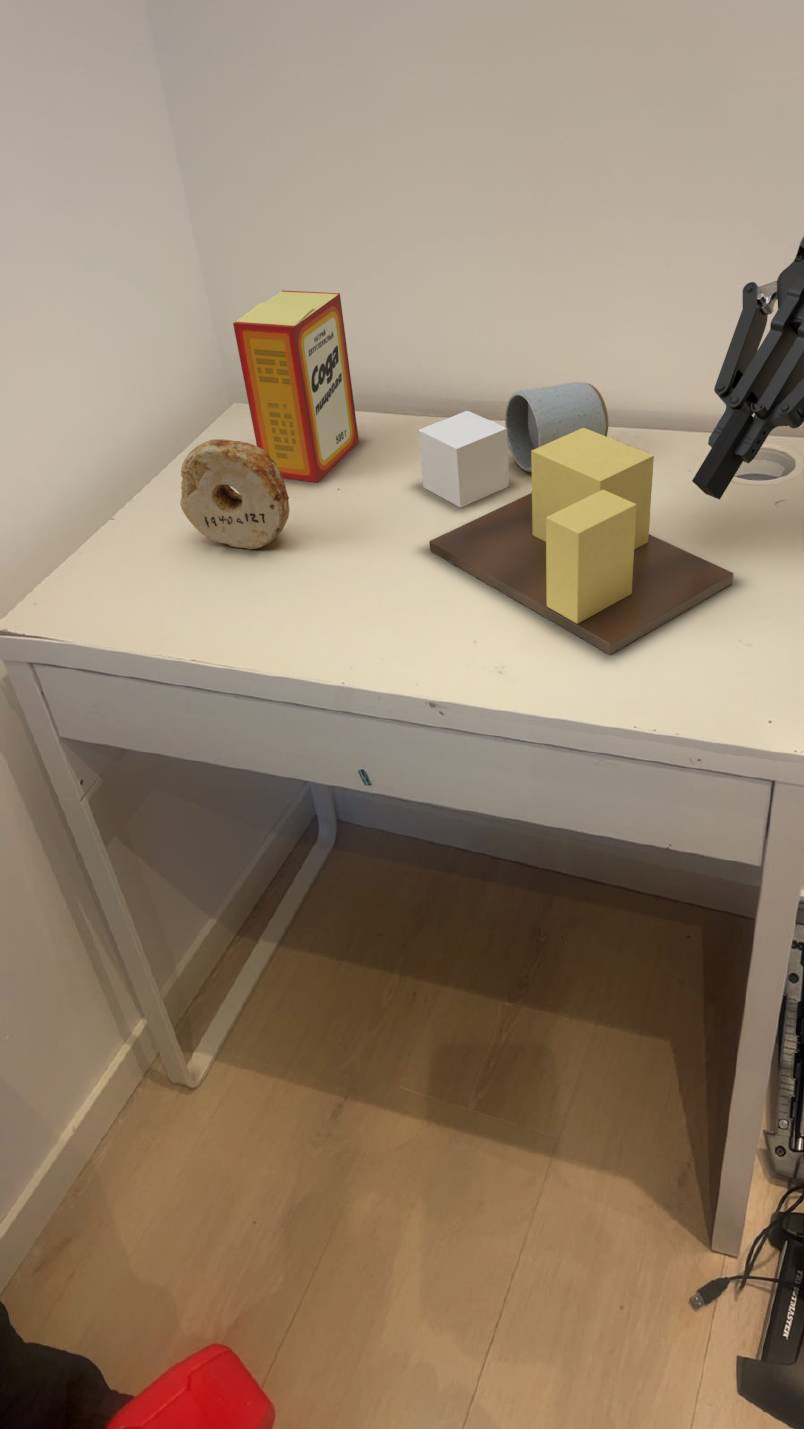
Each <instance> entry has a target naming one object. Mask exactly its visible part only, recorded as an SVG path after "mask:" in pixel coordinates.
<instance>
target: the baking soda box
mask: <svg viewBox="0 0 804 1429" xmlns="http://www.w3.org/2000/svg"><path fill="white" fill-rule="evenodd" d="M232 326H233V330H234V336H235V341H236V346H237V351H238V356H239V361H240V367H241V372H242V377H243V383H244V387H245V392H246V398H247V403H248V408H249V413H250V418H251V424H252V427H253V434H254V439H255V443H256V446H257V447H259V448H261V449H263V450H264V451H265V452H266V453H268V455H269V456H270V458H271V459H272V460H273V461H274V462H275V463H276V466H277V469H278V470H280V471H281V474H282V476H283V479H287V480H294V481H303V482H310V483H319V482H320V481H321V480H322V479H323V478H324V477H325V476H326V475H327V474H328V473H330V471H331V470H332V469H334V468H335V466H336V465H338V463H340V461H342V460H343V459H344V458H345V457H346V456H347V455H348V454H349V453H350V452H351V451H352V450H353V449H354V448H356V446H357V445H358V444H359V443H360V441H359V440H360V439H359V431H358V425H357V424H358V423H357V417H356V409H355V399H354V393H353V384H352V377H351V369H350V362H349V354H348V345H347V338H346V329H345V322H344V315H343V307H342V300H341V293H340V292H321V291H319V292H318V291H303V290H302V291H300V290H284V289H283V290H281V291H279V292H278V293H277V294H275V295H274V296H272V297H270V298H269V299H267V300H266V301H264V302H260V303H258V304H257V305H256V306H254V307H253V308H252V309H250V310H249V311H248V312H246V313H244V315H243V316H241V317H240V318H238V319H237V320H235V321H234V322H233V323H232Z"/></svg>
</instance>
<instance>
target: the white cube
mask: <svg viewBox="0 0 804 1429" xmlns="http://www.w3.org/2000/svg"><path fill="white" fill-rule="evenodd" d="M417 434H418V435H417V436H418V444H419V456H420V467H421V468H420V469H421V478H422V487H423V489H425V490H427V491H429V492H431V493H433V494H435V495H436V496H438V497H440V498H442V499H443V500H445V501H447V502H449V503H451V504H453V505H455V506H456V507H458V508H460V509H461V508H463V507H465V506H468V505H470V504H473V503H474V502H478V501H479V500H481V499H485V498H486V497H488V496H491V495H493V494H496V493H498V492H500V491H502V490H504V489H507V488H509V487H510V478H509V476H510V475H509V472H510V471H509V444H508V439H507V428H506V426H503V425H500V424H499V423H496V422H494V421H492V420H489V419H487V418H485V417H483V416H481V415H479V414H476V413H474V412H472V411H469V410H465V411H462V412H460V413H458V414H455V415H452V416H450V417H447V418H445V419H443V420H440V421H437V422H434V423H432V424H429V425H427V426H425V427H422V428H420V429H417Z"/></svg>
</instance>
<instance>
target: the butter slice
mask: <svg viewBox="0 0 804 1429" xmlns="http://www.w3.org/2000/svg"><path fill="white" fill-rule="evenodd" d="M635 523H636V504H635V503H633V502H630V501H628V500H626V499H624V498H621V497H619V496H617V495H614V494H612V493H610V492H608V491H605V490H601V491H599V492H597V493H595V494H593V495H591V496H589V497H587V498H585V499H582V500H580V501H578V502H576V503H574V504H572V505H570V506H568V507H566V508H564V509H562V510H560V511H558V512H556V513H554V514H552V515H550V516H547V517H546V587H547V607H549V608H550V609H552V610H554V611H556V612H557V613H559V614H561V615H563V616H564V617H566V618H568V619H569V620H571V621H573V622H575V623H576V624H578V623H580V622H582V621H584V620H586V619H587V618H589V617H591V616H593V615H595V614H596V613H598V612H600V611H602V610H604V609H605V608H607V607H609V606H611V605H613V604H614V603H616V602H618V601H620V600H622V599H624V598H625V597H627V596H629V595H631V594H632V578H633V560H634V542H635Z"/></svg>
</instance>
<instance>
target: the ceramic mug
mask: <svg viewBox="0 0 804 1429" xmlns="http://www.w3.org/2000/svg"><path fill="white" fill-rule="evenodd" d="M504 425H505V426H504V427H505V428H507V439H508V448H509V450H510V452H511V456H512V457H513V459H514V461H515V462H516V464H517V466H518V467H520V468H521V470H523V471H525V472H529V473H530V472H531V473H532V465H531V451H532V450H534V449H536V448H539V447H541V446H543V445H545V444H548V443H550V442H552V441H554V440H556V439H559V438H561V437H563V436H565V435H568V434H570V433H572V432H574V431H577V430H579V429H581V428H586V429H588V430H591V431H593V432H596V433H598V434H601V435H603V436H606V437H608V433H609V414H608V408H607V405H606V402H605V400H604V398H603V396H602V394H601V392H600V390H598V389H597V387H595V386H594V385H593V384H591V383H590V382H589V383H588V382H581V381H580V382H579V381H577V382H576V381H575V382H574V381H573V382H567V383H562V384H556V385H549V386H544V387H537V388H536V387H535V388H531V389H524V390H518V391H515V392H514V393H513V394H512V395H511V396H510V397H509V399H508V401H507V405H506V409H505V416H504Z"/></svg>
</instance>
